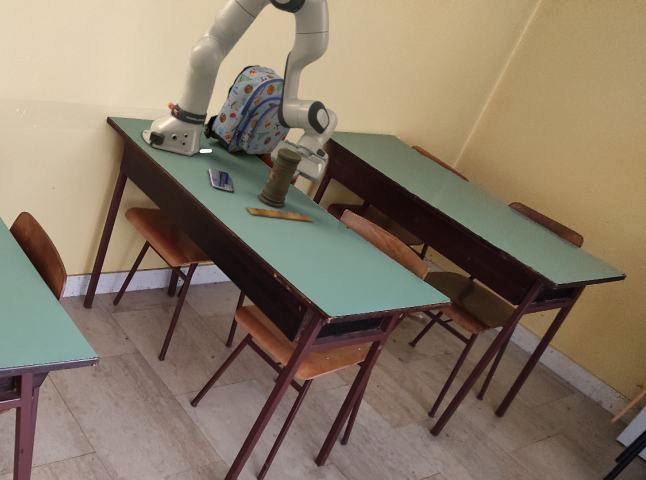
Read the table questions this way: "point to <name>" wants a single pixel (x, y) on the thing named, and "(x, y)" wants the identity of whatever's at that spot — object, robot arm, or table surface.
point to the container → (280, 178)
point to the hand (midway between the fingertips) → (286, 180)
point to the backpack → (250, 113)
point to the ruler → (279, 214)
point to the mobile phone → (220, 180)
